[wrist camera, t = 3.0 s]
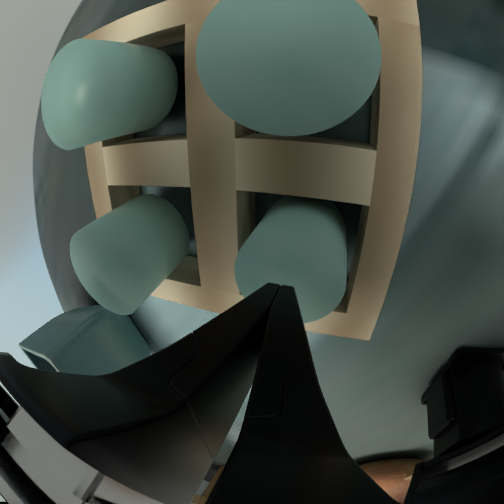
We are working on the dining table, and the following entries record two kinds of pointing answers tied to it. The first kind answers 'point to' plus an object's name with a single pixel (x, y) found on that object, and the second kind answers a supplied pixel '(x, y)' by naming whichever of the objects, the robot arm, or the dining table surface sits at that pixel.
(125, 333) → the flower pot
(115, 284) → the button
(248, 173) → the board
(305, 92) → the button
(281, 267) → the button
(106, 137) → the button
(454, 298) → the dining table surface
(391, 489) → the ceramic jug
